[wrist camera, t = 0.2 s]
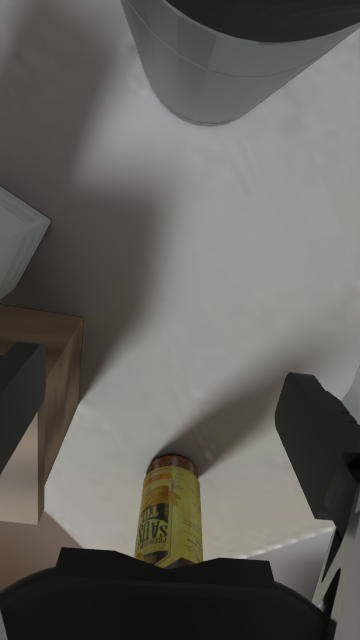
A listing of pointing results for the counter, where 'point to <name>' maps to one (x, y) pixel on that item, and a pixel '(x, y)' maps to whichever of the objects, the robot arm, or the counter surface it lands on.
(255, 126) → the counter surface
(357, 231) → the counter surface
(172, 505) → the sauce bottle
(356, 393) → the lumpy-topped squat cylinder
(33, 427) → the brown wooden box
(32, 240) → the supplement box
